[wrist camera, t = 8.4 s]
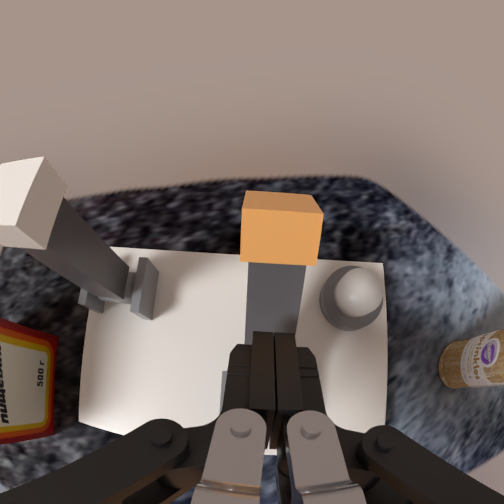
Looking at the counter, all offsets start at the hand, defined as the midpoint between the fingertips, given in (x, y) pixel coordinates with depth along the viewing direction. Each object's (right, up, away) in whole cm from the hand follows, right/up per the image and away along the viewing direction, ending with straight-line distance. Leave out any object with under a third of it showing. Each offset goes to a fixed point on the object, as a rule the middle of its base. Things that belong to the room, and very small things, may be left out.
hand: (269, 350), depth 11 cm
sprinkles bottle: (+18, -7, +10) cm, 22 cm away
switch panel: (-2, -4, +11) cm, 12 cm away
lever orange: (0, -6, +6) cm, 9 cm away
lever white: (-10, +1, +9) cm, 14 cm away
